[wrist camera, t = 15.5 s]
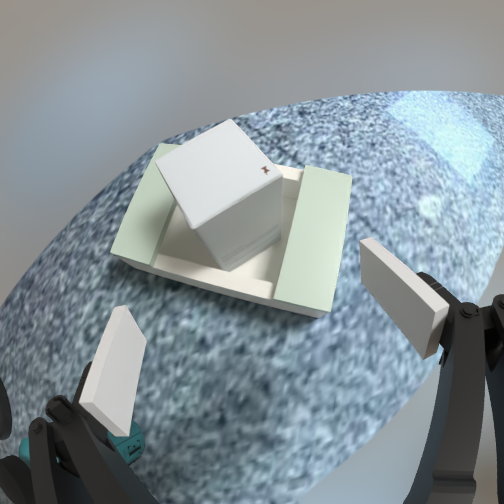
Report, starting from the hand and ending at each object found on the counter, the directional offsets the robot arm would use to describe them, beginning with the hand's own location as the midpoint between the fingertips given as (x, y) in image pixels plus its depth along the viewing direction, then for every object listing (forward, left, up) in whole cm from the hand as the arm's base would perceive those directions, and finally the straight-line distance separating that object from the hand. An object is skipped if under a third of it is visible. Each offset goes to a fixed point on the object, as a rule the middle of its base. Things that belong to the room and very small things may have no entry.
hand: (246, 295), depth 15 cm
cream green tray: (-5, +9, -15) cm, 18 cm away
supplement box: (-5, +8, -14) cm, 17 cm away
